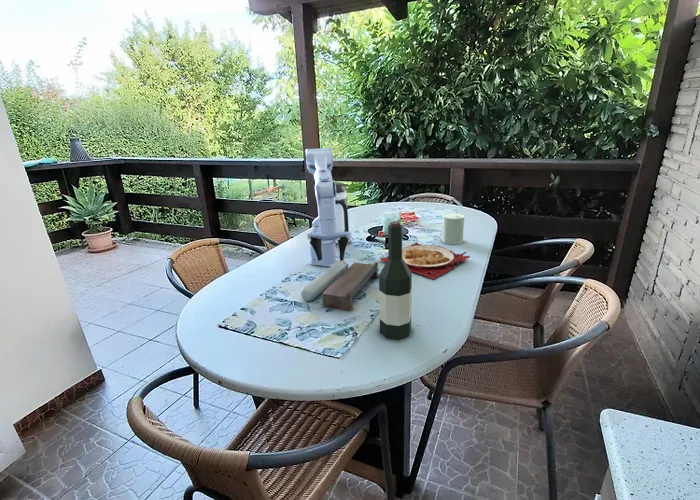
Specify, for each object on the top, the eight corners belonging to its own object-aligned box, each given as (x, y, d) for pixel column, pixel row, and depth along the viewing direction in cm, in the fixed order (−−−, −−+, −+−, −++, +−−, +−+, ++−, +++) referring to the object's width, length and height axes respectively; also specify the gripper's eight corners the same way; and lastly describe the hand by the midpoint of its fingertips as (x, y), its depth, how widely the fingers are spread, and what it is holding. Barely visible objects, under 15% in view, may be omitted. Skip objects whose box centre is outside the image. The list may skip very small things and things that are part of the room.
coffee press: (312, 247, 163) (307, 179, 153) (327, 236, 177) (323, 174, 167) (348, 250, 157) (345, 180, 147) (361, 239, 171) (358, 174, 161)
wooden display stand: (323, 306, 112) (321, 290, 110) (354, 273, 134) (354, 259, 132) (350, 311, 108) (349, 294, 106) (378, 276, 131) (377, 261, 129)
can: (452, 245, 157) (453, 218, 153) (437, 240, 165) (438, 214, 160) (467, 241, 161) (469, 215, 157) (452, 236, 169) (453, 211, 165)
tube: (313, 293, 112) (350, 263, 132) (299, 285, 113) (337, 257, 134) (310, 306, 114) (346, 275, 135) (296, 299, 116) (334, 269, 136)
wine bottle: (377, 324, 101) (375, 219, 91) (407, 321, 101) (408, 216, 91) (382, 341, 93) (380, 228, 83) (414, 338, 94) (416, 226, 83)
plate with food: (416, 246, 159) (416, 239, 158) (470, 259, 141) (470, 250, 140) (378, 262, 144) (378, 254, 143) (433, 279, 126) (433, 270, 125)
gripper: (302, 221, 117) (306, 262, 120) (346, 220, 113) (348, 262, 116) (310, 219, 124) (313, 258, 126) (351, 217, 120) (354, 257, 122)
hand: (330, 260), depth 121 cm, fingers open, 7 cm apart
